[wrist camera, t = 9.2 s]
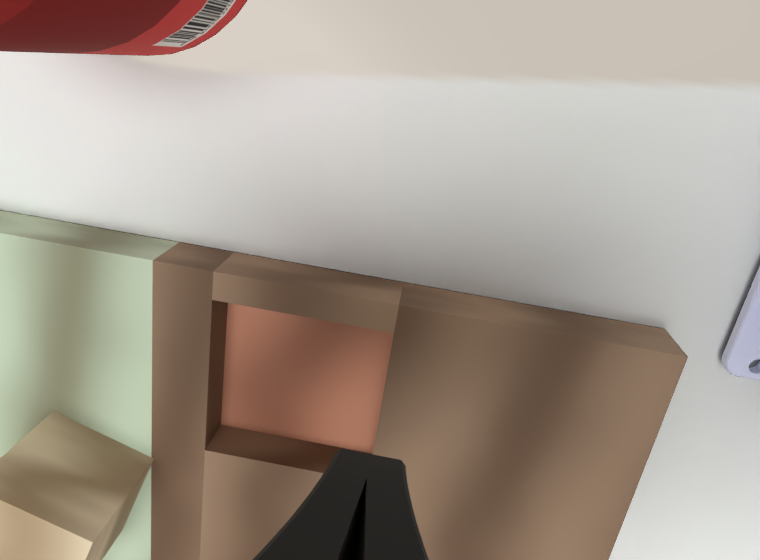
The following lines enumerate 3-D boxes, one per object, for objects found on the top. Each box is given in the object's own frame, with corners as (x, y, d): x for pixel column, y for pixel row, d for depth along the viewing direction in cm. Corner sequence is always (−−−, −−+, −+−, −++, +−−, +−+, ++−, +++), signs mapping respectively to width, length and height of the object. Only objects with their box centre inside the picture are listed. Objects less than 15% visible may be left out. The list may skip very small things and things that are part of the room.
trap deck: (664, 328, 20) (687, 356, 18) (514, 738, 28) (519, 787, 26) (-11, 208, 21) (-56, 223, 19) (32, 636, 29) (3, 677, 27)
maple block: (154, 458, 21) (93, 542, 18) (122, 530, 23) (59, 621, 19) (53, 410, 21) (-31, 485, 17) (27, 486, 23) (-55, 570, 19)
